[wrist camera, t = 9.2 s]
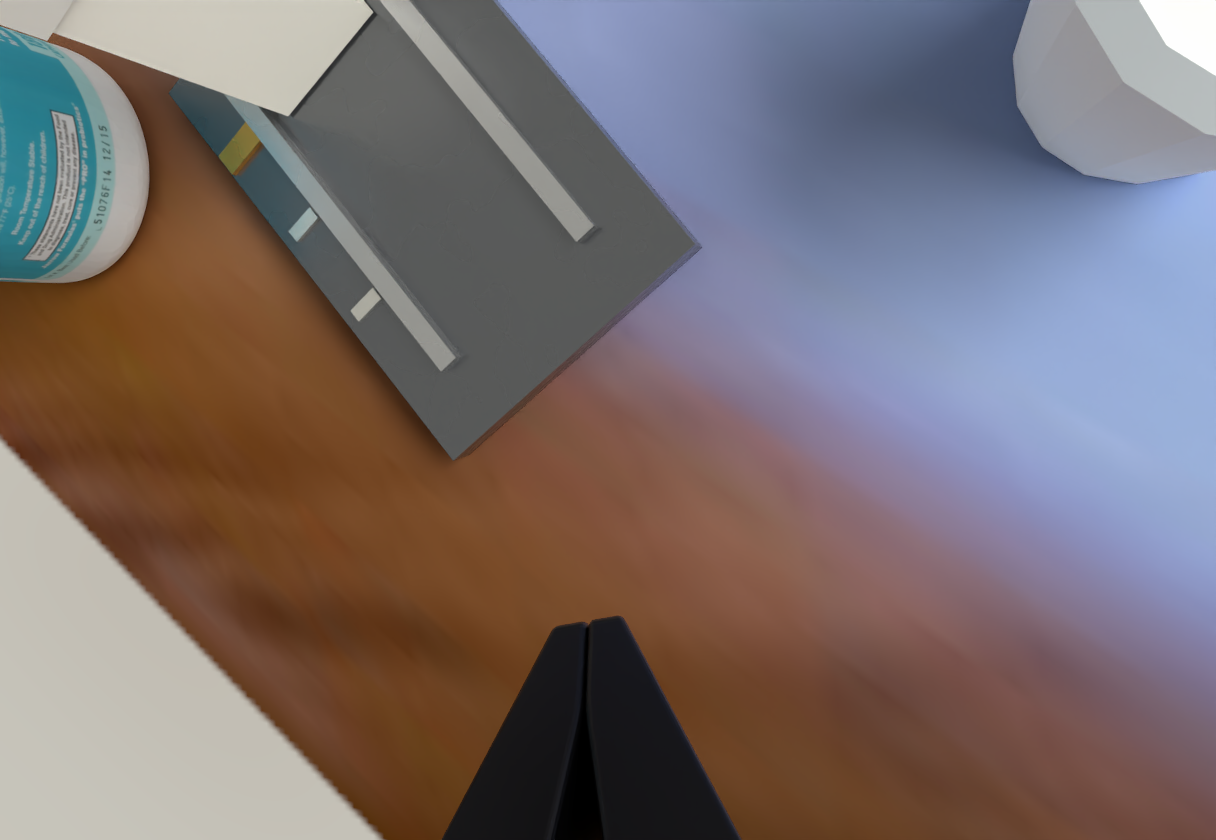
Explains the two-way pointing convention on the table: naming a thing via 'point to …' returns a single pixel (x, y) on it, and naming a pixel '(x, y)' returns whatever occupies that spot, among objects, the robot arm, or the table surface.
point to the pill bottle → (65, 164)
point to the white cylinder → (1121, 85)
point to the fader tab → (208, 39)
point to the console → (452, 207)
